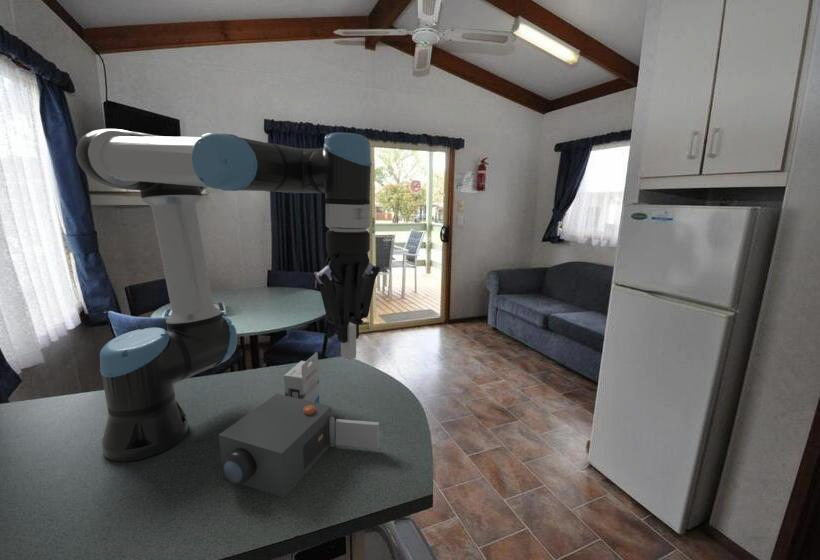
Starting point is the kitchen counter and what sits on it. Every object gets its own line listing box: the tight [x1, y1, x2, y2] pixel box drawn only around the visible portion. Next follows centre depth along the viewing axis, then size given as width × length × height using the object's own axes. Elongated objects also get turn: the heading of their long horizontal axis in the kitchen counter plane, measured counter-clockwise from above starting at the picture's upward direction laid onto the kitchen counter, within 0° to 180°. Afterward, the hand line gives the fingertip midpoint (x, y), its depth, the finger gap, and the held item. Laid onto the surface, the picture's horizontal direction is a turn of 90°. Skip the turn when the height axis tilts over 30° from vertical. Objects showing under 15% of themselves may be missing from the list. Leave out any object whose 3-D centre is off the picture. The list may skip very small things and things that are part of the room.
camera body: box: [218, 393, 336, 499], centre depth 72 cm, size 15×19×10 cm
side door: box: [335, 418, 380, 450], centre depth 78 cm, size 9×2×6 cm, turn 85°
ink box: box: [283, 351, 320, 404], centre depth 90 cm, size 9×5×15 cm, turn 168°
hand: (348, 356), depth 69 cm, fingers closed
